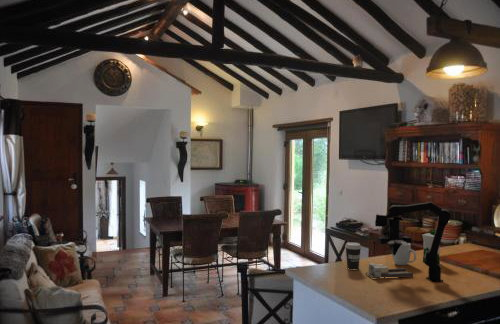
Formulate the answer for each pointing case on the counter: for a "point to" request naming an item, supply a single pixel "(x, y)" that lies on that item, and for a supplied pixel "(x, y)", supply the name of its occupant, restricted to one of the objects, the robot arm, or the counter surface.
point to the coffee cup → (353, 255)
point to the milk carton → (429, 244)
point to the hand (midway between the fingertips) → (394, 255)
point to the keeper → (383, 269)
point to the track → (376, 272)
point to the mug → (403, 254)
